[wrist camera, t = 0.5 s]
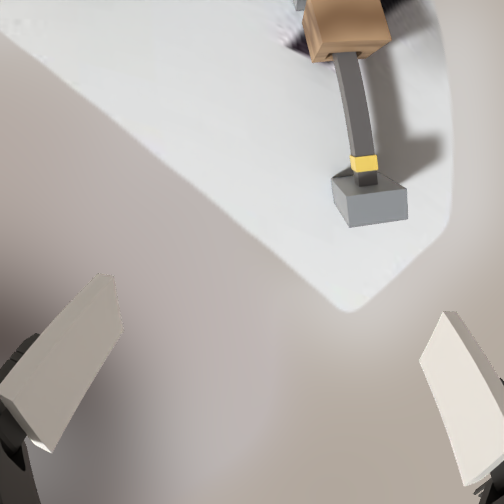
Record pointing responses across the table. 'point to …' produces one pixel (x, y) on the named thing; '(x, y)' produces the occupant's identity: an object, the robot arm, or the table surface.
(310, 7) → the wooden block on rod
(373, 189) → the rod rig
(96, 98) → the table surface
